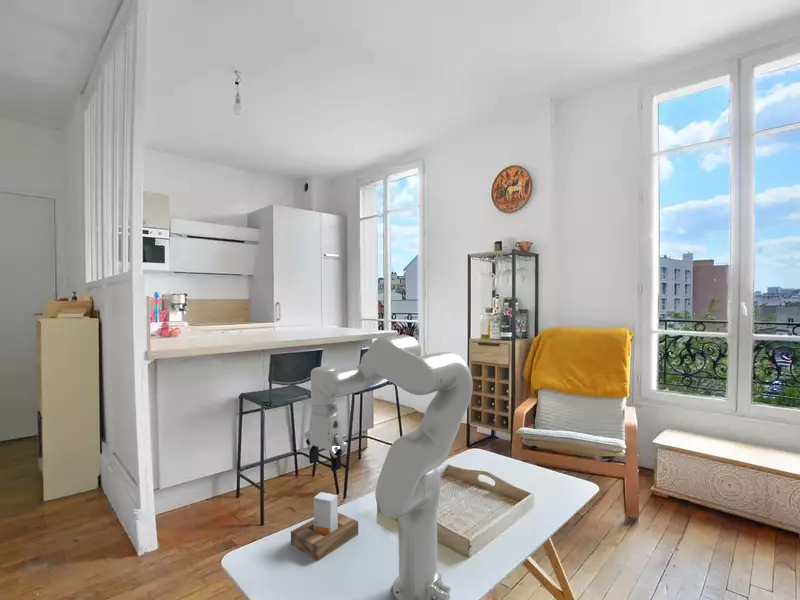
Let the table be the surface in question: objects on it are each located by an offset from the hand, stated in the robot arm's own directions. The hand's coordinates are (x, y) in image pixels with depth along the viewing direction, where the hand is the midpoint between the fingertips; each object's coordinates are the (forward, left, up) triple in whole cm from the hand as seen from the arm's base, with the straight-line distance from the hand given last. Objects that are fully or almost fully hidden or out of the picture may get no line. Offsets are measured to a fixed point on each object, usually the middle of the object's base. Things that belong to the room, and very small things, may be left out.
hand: (325, 465), depth 125 cm
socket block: (0, 0, -22) cm, 22 cm away
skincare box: (0, 0, -21) cm, 21 cm away
